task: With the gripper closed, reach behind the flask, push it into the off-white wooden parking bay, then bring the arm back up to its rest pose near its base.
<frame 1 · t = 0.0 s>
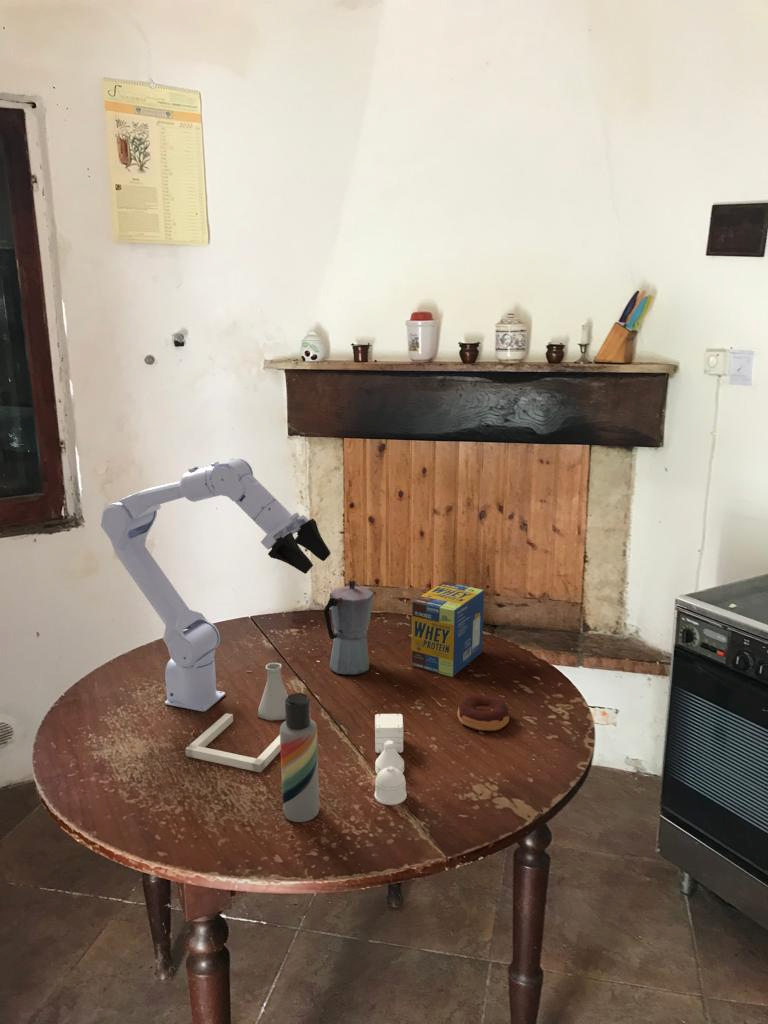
hand: (318, 563, 145), 32 cm above the table, tool tilted 50°, fingers open, 7 cm apart
flask: (275, 713, 157), on the table
donut: (483, 722, 154), on the table
parking bay: (244, 742, 147), on the table
moka pot: (349, 669, 176), on the table
container set: (389, 772, 138), on the table
lotion bottle: (301, 813, 126), on the table
protein box: (447, 660, 181), on the table
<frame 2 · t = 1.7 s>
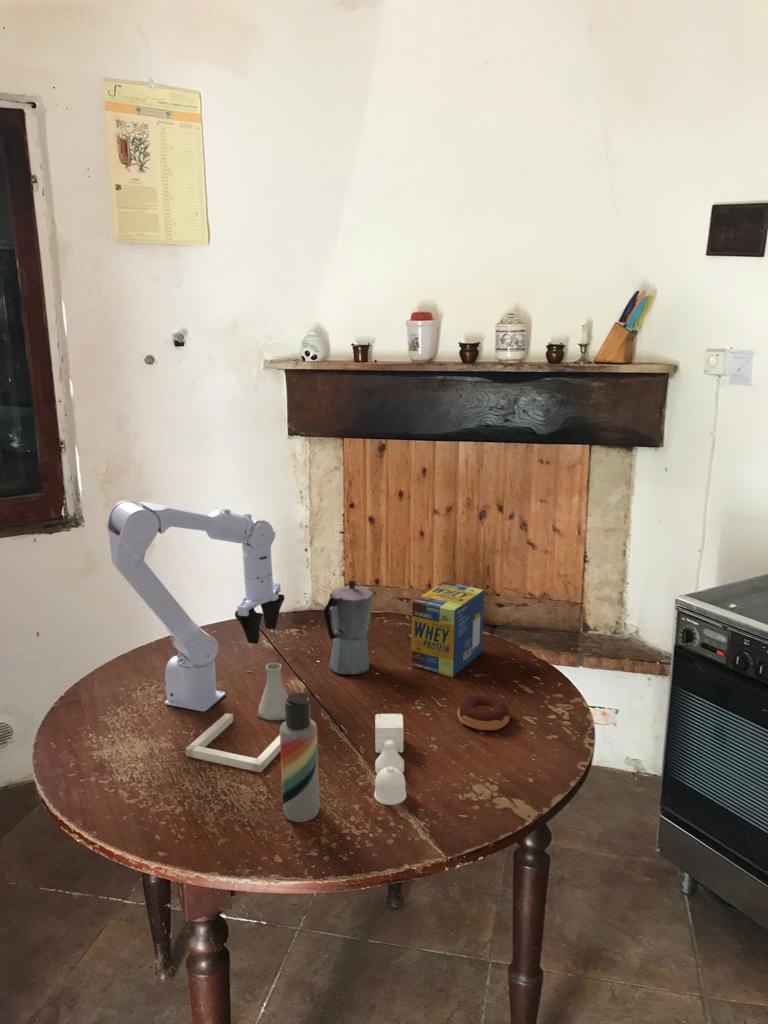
hand: (262, 635, 168), 10 cm above the table, tool pointing down, fingers open, 7 cm apart
nothing on the table moved.
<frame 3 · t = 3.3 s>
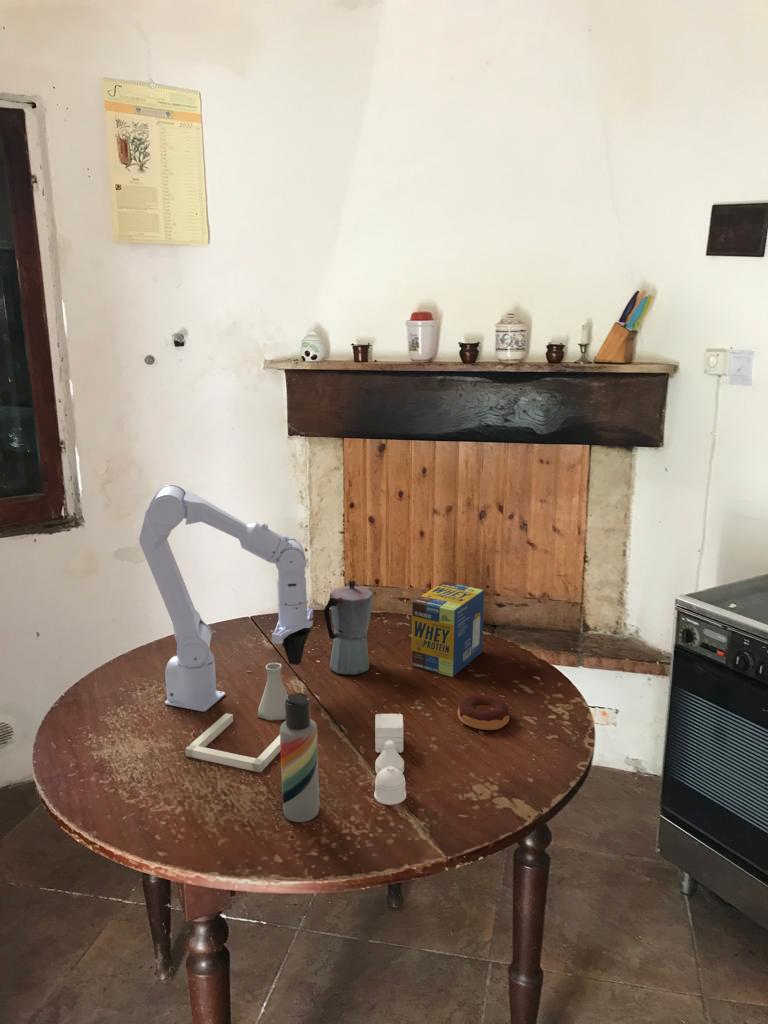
hand: (294, 663, 164), 7 cm above the table, tool pointing down, fingers closed
nothing on the table moved.
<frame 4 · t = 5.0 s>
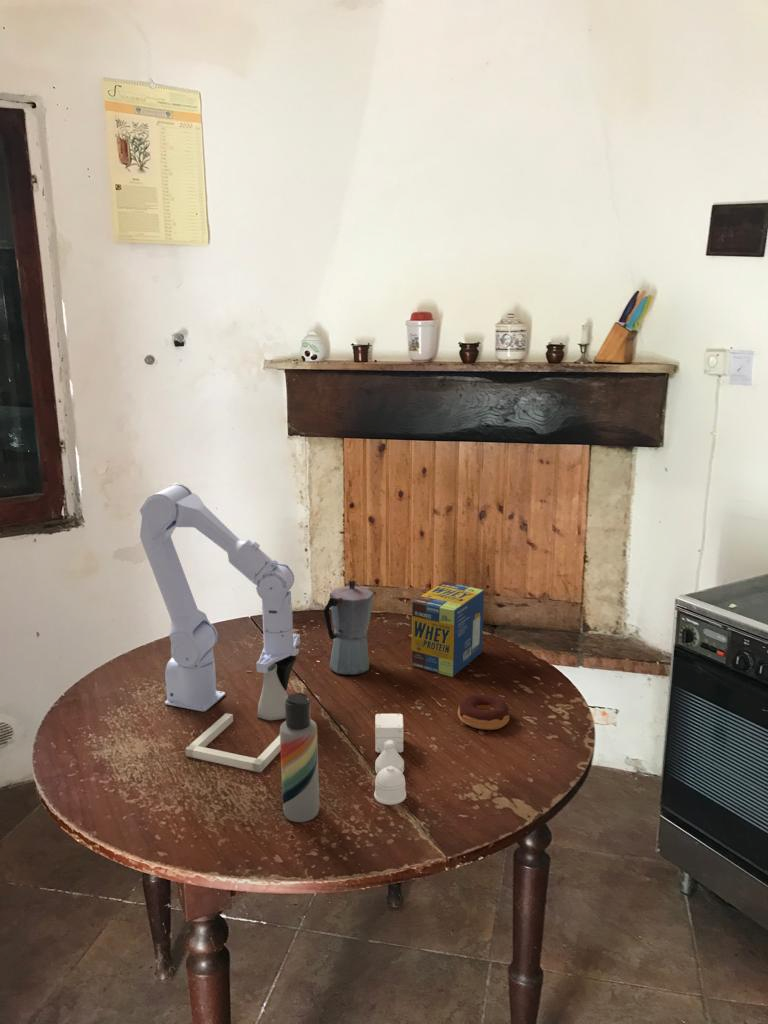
hand: (280, 691, 159), 3 cm above the table, tool pointing down, fingers closed
flask: (275, 711, 157), on the table, touching gripper
everything else where it was.
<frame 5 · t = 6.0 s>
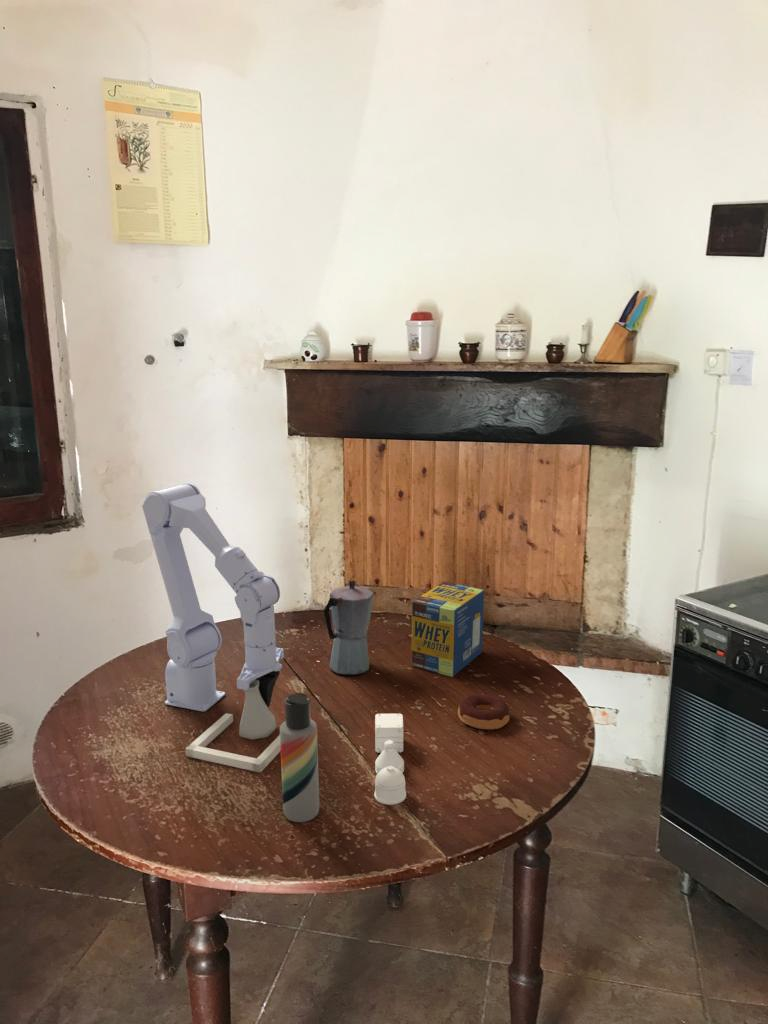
hand: (263, 707, 152), 3 cm above the table, tool pointing down, fingers closed
flask: (258, 729, 151), on the table, touching gripper
everything else where it was.
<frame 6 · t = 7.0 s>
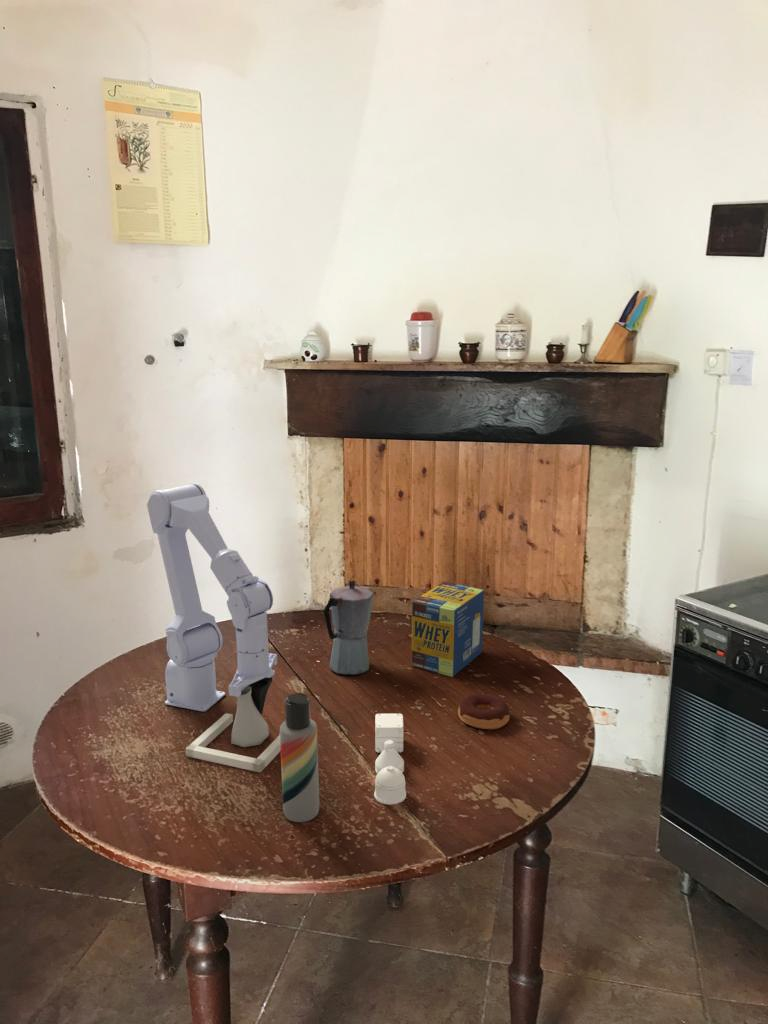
hand: (255, 714, 150), 3 cm above the table, tool pointing down, fingers closed
flask: (250, 736, 148), on the table, touching gripper
everything else where it was.
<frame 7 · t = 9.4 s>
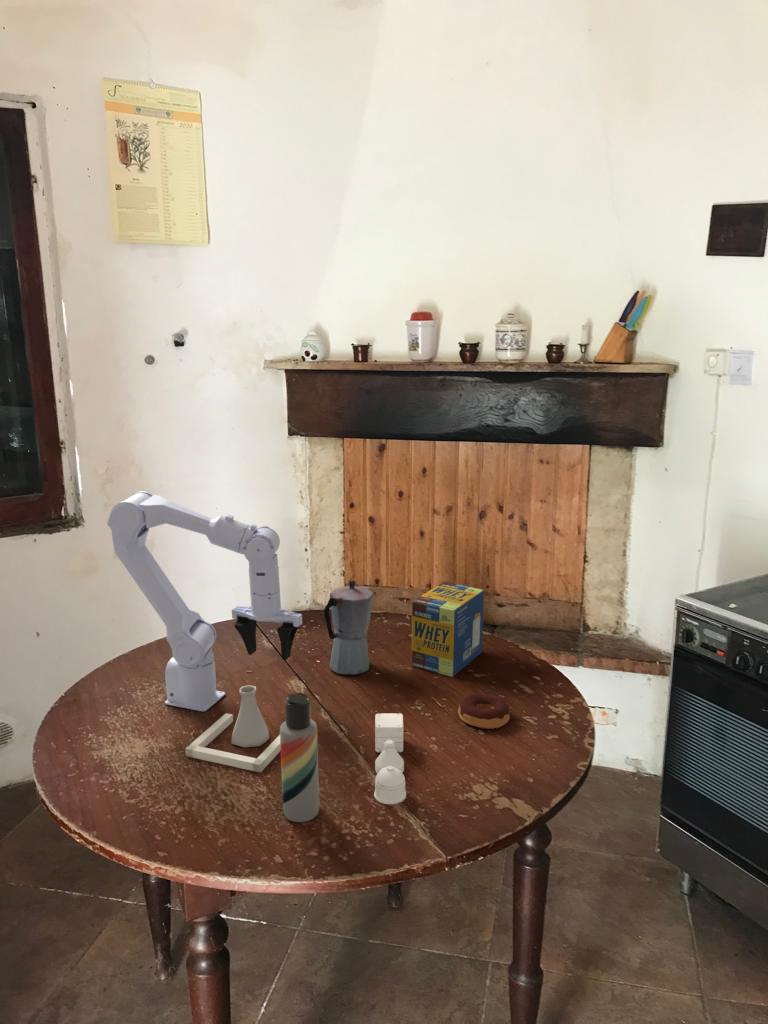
hand: (269, 655, 158), 10 cm above the table, tool pointing down, fingers open, 7 cm apart
flask: (250, 739, 148), on the table
everything else where it was.
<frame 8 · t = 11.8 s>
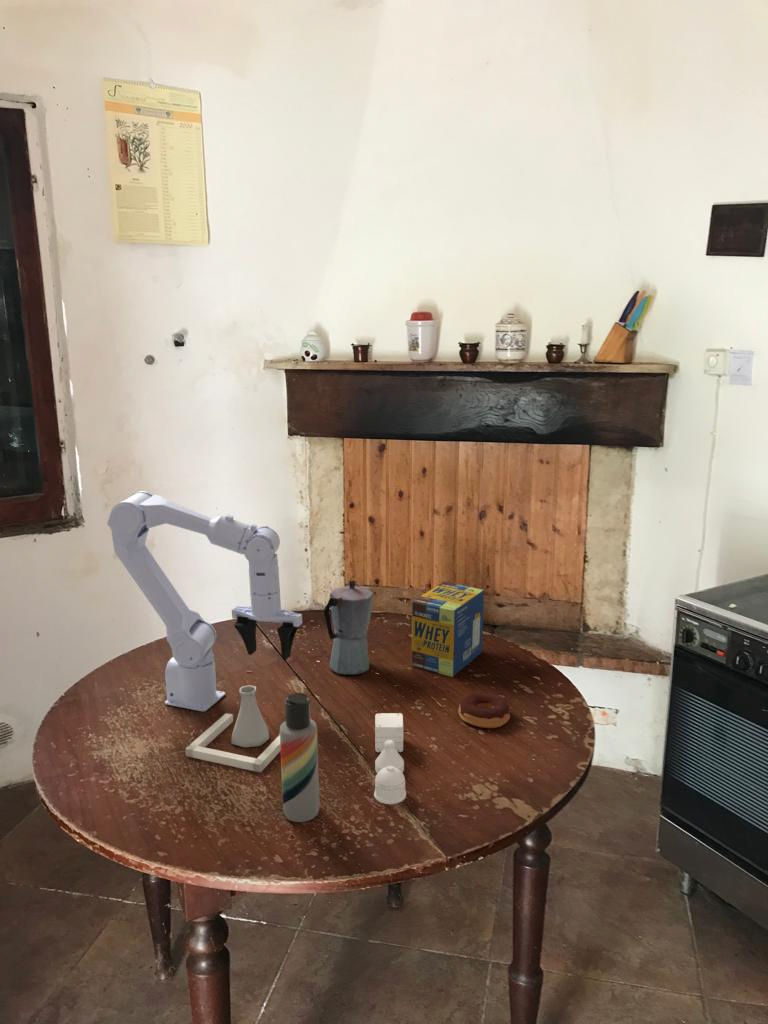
hand: (269, 655, 158), 10 cm above the table, tool pointing down, fingers open, 7 cm apart
at the end: flask inside the target area on the parking bay (1.8 cm from its centre), point 0.0 cm above the parking bay's base; flask tilted 0° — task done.
